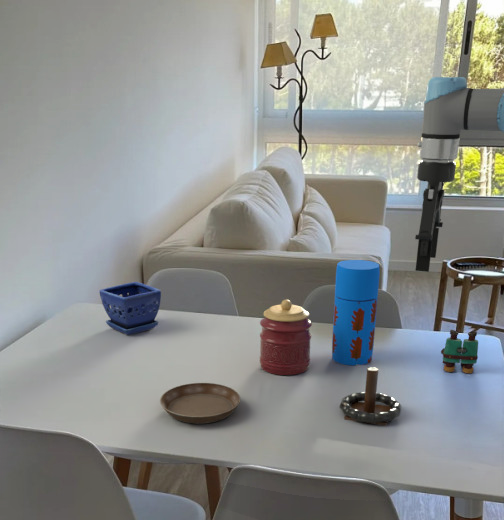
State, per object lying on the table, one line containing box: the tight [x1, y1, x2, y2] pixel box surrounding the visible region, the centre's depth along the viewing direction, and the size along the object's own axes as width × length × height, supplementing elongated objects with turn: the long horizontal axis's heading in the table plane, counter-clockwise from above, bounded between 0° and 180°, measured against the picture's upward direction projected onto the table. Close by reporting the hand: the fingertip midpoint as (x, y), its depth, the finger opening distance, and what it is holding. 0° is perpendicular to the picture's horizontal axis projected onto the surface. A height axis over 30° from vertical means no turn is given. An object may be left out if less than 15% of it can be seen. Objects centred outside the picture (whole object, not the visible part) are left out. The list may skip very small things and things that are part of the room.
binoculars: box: [440, 329, 479, 374], centre depth 180 cm, size 9×11×10 cm
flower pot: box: [99, 281, 162, 336], centre depth 206 cm, size 13×13×12 cm
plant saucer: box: [159, 382, 241, 425], centre depth 157 cm, size 18×18×3 cm
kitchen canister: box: [259, 299, 313, 376], centre depth 178 cm, size 13×13×18 cm
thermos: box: [331, 259, 381, 366], centre depth 182 cm, size 11×11×25 cm
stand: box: [343, 366, 391, 426], centre depth 152 cm, size 9×9×12 cm
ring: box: [339, 391, 402, 424], centre depth 154 cm, size 13×13×2 cm
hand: (425, 263), depth 154 cm, fingers open, 13 cm apart
